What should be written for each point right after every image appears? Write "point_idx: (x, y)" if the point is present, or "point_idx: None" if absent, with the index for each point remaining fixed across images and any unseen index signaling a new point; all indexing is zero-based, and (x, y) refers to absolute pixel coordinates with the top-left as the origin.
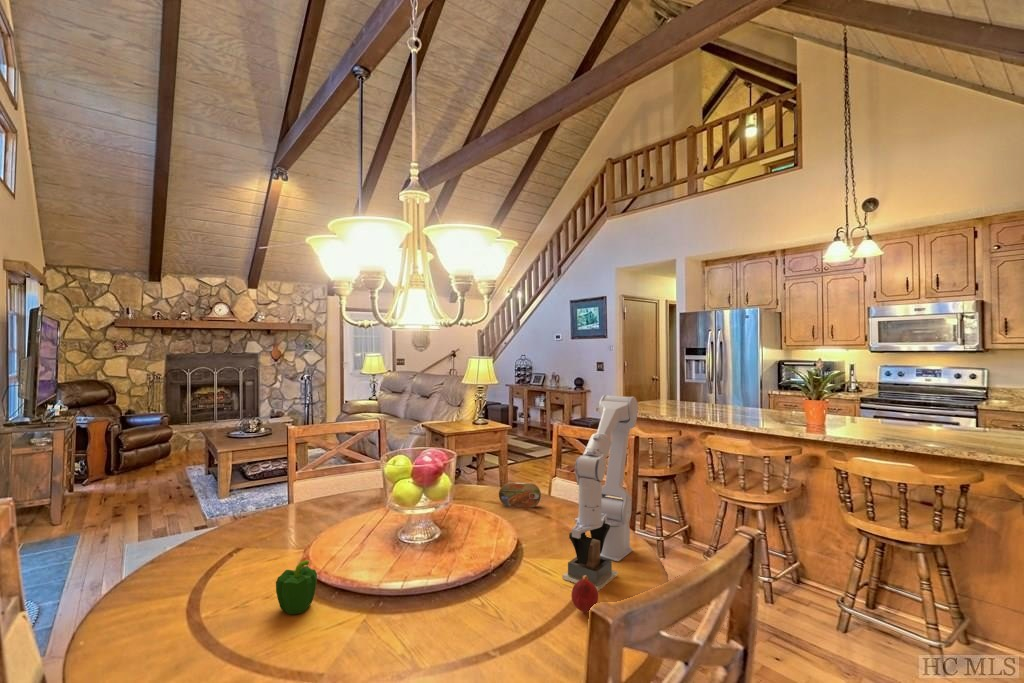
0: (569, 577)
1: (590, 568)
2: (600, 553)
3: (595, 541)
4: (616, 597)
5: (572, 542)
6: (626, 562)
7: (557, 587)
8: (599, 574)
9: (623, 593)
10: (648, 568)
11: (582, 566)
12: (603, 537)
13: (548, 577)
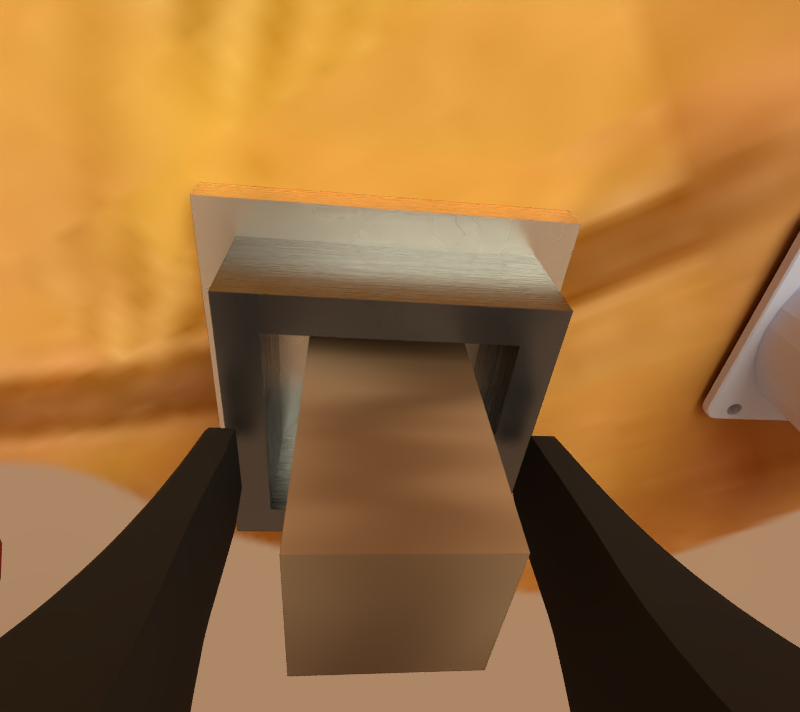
0: (201, 269)
1: (254, 486)
2: (516, 495)
3: (432, 655)
4: (246, 532)
5: (6, 641)
6: (711, 439)
7: (37, 218)
8: None
9: None
10: (659, 535)
11: (240, 429)
12: (566, 684)
13: (115, 30)
